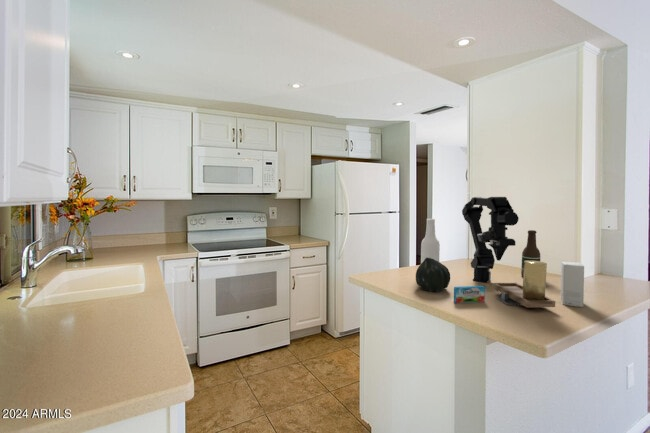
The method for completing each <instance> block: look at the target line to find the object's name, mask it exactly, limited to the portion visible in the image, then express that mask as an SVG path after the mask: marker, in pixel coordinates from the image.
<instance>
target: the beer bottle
mask: <svg viewBox="0 0 650 433" xmlns="http://www.w3.org/2000/svg"><path fill="white" fill-rule="evenodd" d="M528 260H531V261H541V252H540V250H539V248H538V247H537V230H535V229H534V230H533V229H530V230H528V231H527V241H526V245H525V248H523V251H522V252H521V269H520V270H521V271H520V272H521V278H522V279H523V275H524V261H528Z"/></svg>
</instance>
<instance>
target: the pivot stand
mask: <svg viewBox="0 0 650 433" xmlns="http://www.w3.org/2000/svg"><path fill="white" fill-rule="evenodd" d="M495 299H496V300H498V301H499V302H501V303H503V304H504V305H506V306H523V305H522V304H520V303H518V302H516V301H515V300H513V299H511V298H509V297H508V293H506V292H502V293H501V296H496V298H495Z"/></svg>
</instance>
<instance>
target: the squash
mask: <svg viewBox="0 0 650 433" xmlns="http://www.w3.org/2000/svg"><path fill="white" fill-rule="evenodd" d="M450 281H451V273H450V270H449V269H448V267H447V266H446V265H444V264H443V263H442V262H440V261H439V262H438V261H436V260H434V259H432V258H426V259H425V260H424V261H423V262H422V264H421V263H420V265H418V267H417V269H416V272H415V282H416V284H417V286H418V287H420V289H422V290H425V291H429V292H434V291H435V292H437V293H439V292H441V291H442V290H444V289H447V288H448V287H449V284H450V283H451V282H450Z"/></svg>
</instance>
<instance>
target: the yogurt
mask: <svg viewBox="0 0 650 433" xmlns="http://www.w3.org/2000/svg"><path fill="white" fill-rule="evenodd" d="M484 302H486V287H485V286H483V285H467V286H466V285H465V286H464V285H463V286H453V303H455V304H465V303H466V304H468V303H470V304H471V303H473V304H474V303H484Z"/></svg>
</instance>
